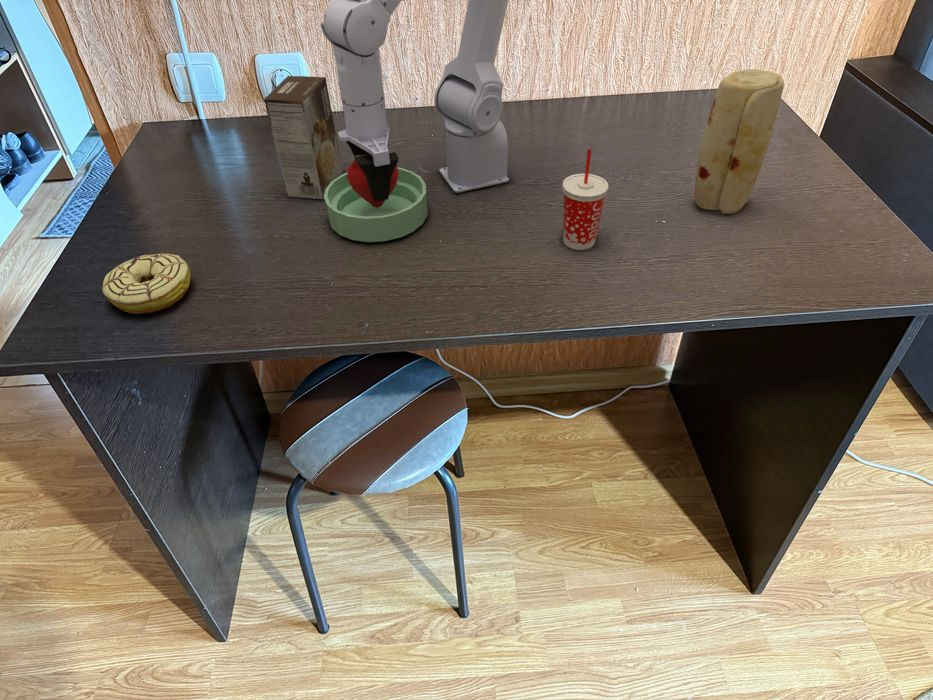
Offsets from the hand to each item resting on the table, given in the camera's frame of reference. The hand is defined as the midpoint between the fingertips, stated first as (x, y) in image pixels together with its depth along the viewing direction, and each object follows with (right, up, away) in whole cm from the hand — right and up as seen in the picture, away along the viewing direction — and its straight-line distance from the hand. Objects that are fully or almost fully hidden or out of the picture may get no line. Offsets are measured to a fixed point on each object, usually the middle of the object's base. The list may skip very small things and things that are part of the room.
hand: (375, 189), depth 96 cm
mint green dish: (0, -3, +3) cm, 5 cm away
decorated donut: (-28, -16, -9) cm, 34 cm away
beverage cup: (+30, -8, -2) cm, 31 cm away
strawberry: (0, -2, +2) cm, 3 cm away
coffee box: (-11, +3, +11) cm, 16 cm away
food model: (+52, -2, +3) cm, 52 cm away
